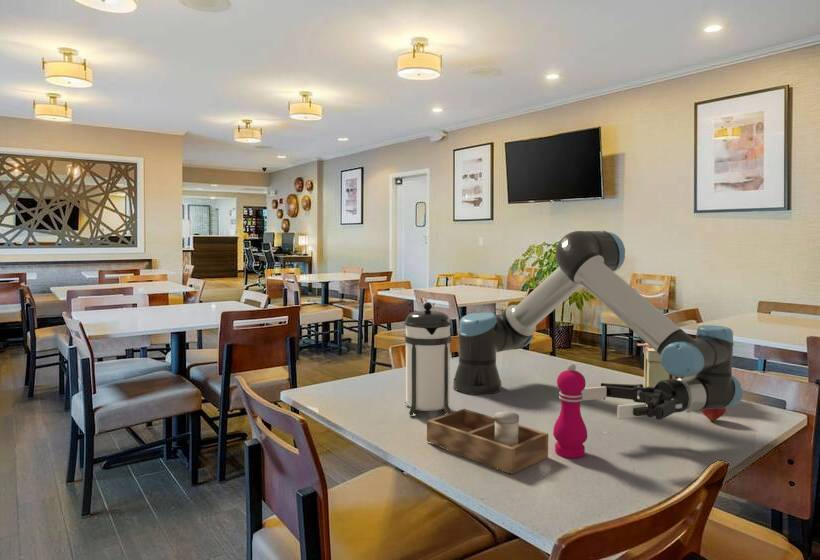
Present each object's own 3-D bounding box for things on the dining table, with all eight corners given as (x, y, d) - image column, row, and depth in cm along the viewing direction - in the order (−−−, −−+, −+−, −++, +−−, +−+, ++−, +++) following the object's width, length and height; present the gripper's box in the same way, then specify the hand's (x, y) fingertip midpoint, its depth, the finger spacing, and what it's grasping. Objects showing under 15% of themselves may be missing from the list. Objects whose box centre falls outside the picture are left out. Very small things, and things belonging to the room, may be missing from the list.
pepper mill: (588, 460, 116) (590, 368, 114) (553, 458, 117) (555, 366, 116) (584, 448, 123) (586, 360, 122) (551, 445, 124) (553, 359, 123)
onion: (694, 417, 144) (695, 387, 143) (715, 416, 145) (716, 387, 144) (708, 424, 138) (709, 393, 138) (730, 424, 139) (731, 393, 138)
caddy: (426, 442, 126) (426, 403, 126) (464, 429, 135) (464, 392, 135) (511, 474, 109) (512, 429, 108) (548, 457, 118) (548, 415, 117)
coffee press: (468, 409, 151) (468, 301, 149) (430, 423, 140) (430, 307, 138) (421, 397, 163) (421, 297, 161) (383, 409, 152) (382, 301, 149)
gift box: (690, 389, 171) (692, 335, 170) (708, 407, 153) (710, 346, 152) (632, 386, 175) (634, 333, 174) (643, 403, 157) (645, 344, 156)
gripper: (721, 429, 115) (635, 439, 109) (641, 396, 139) (567, 403, 133) (723, 394, 114) (636, 402, 108) (642, 367, 138) (568, 372, 132)
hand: (598, 402), depth 121 cm, fingers open, 13 cm apart
